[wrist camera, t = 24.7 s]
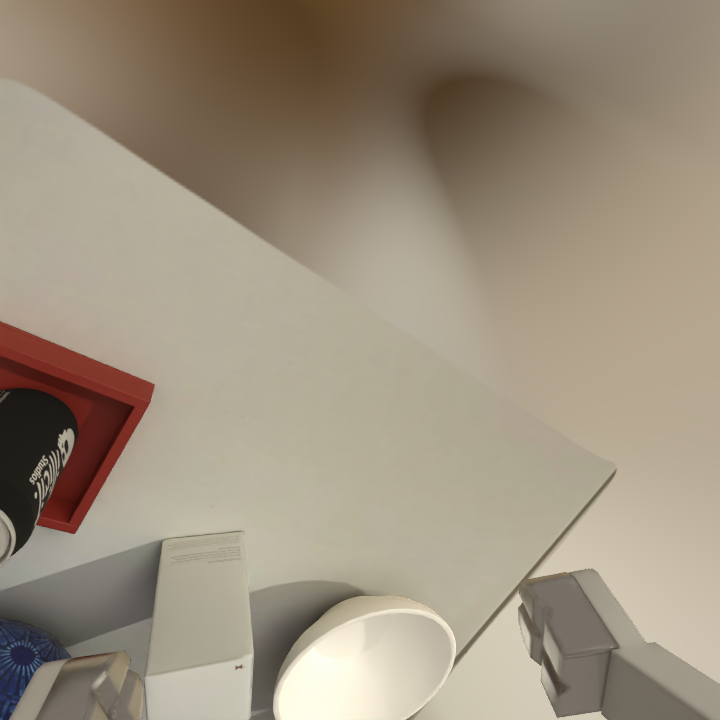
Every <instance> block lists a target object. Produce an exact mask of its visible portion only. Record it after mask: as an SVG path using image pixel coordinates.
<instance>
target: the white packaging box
mask: <svg viewBox="0 0 720 720" xmlns="http://www.w3.org/2000/svg"><path fill="white" fill-rule="evenodd" d="M253 660H254V649H253V637H252V624H251V612H250V600H249V588H248V575H247V564H246V551H245V538H244V532H232V533H222V534H212V535H202V536H193V537H183V538H174V539H167V540H164V541H163V542H162V547H161V554H160V562H159V569H158V577H157V585H156V593H155V601H154V609H153V617H152V624H151V632H150V640H149V647H148V655H147V662H146V670H145V676H144V688H145V704H146V716H147V720H249V719H250V716H251V698H252V684H253V683H252V678H253Z"/></svg>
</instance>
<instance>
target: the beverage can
mask: <svg viewBox="0 0 720 720" xmlns="http://www.w3.org/2000/svg"><path fill="white" fill-rule="evenodd" d="M77 438H78V424H77V420H76V418H75V416H74V414H73V412H72V411H71V409H70V408H69V407H68V406H67V405H66V404H65V403H64V402H63V401H61V400H60V399H58V398H57V397H55V396H53V395H51V394H49V393H46V392H43V391H40V390H36V389H30V388H12V389H6V390H2V391H0V568H1V567H2V566H3V565H4V564H5V563H6V561H7V560H8V559H9V557H11V556H12V555H13V554H15V553H16V552H17V551H18V550H19V549H21V548H22V547H23V546H24V544H25V543H26V542H27V541H28V539H29V538H30V536H31V534H32V532H33V530H34V528H35V526H36V523H37V521H38V519H39V517H40V515H41V513H42V511H43V509H44V507H45V505H46V503H47V501H48V499H49V497H50V495H51V493H52V491H53V489H54V487H55V485H56V483H57V481H58V479H59V477H60V474H61V472H62V470H63V468H64V466H65V464H66V462H67V460H68V458H69V456H70V454H71V452H72V450H73V448H74V446H75V444H76V441H77Z"/></svg>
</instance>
